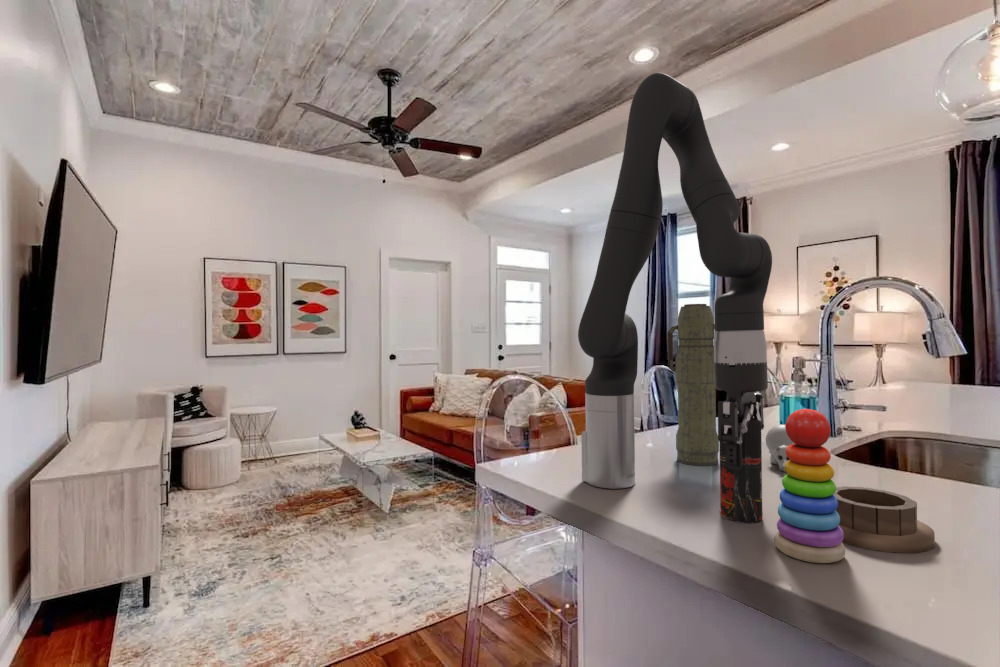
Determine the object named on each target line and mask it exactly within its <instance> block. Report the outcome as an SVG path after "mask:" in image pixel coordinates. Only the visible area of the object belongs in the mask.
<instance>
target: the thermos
mask: <svg viewBox="0 0 1000 667" xmlns="http://www.w3.org/2000/svg"><path fill="white" fill-rule="evenodd" d="M675 330H676V331H677V339H678V346H677V353H676V356H675V359H674V345H673V344H674V343H673V342H674V339H673V335H674V334H673V333H674V332H675ZM714 340H715V316H714V314H713V311H712V308H711V306H710V305H707V303H690V304H689V303H688V304H684V306H681V307H680V310H679V312H678V317H677V325H675V326H674V325H672V326H671V327H670V329H669V330H668V332H667V348H668V349H667V350H668V352H667V353H668V369H669V370H670V371H671V372H673V373H674V374H675V383H676V385H677V416H678V419H677V420H678V425H677V426H678V428H677V430H676V434H675V449H676V453H677V454H676V455H677V457H676V461H677V462H679V463H681V464H684V465H689V466H698V467H709V466H710V467H711V466H715V465H718V464H719V455H718V454H719V452H720V441H719V440H718V431H717V412H716V411H717V410H716V409H717V407H716V406H717V405H716V404H717V403H716V397H717V396H716V388H715V369H714ZM674 361H675V366H674Z"/></svg>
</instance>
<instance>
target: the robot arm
mask: <svg viewBox="0 0 1000 667" xmlns="http://www.w3.org/2000/svg"><path fill="white" fill-rule="evenodd" d="M628 113H629V115H628V121H627V129H626V134H625V143H624V149H623V156H622V160H621V165H620V171H619V174H618V179H617V185H616V189H615V193H614V197H613V201H612V204H611V208H610V212H609V216H608V220H607V224H606V229H605V233H604V234H605V235H604V238H603V244H602V247H601V252H600V254H599V260H598V263H597V268H596V273H595V276H594V280H593V284H592V287H591V289H590V290H591V291H590V293H589V295H588V298H587V302H586V304H585V307H584V310H583V313H582V315H581V319H580V322H579V325H578V329H577V330H578V331H577V338H578V342H579V345H580V348H581V350H582V351H583V353H584V354H586V355H587V356H589V357H591V358H592V359H593V360H592V362H593V363H592V368H591V371H590V372H589V374H588V376H587V377H586V378H585V381H584V392H585V393H584V395H585V399H584V400H585V401H584V402H585V407H584V408H585V430H583V431H581V440H580V442H581V481H582V482H586V483H587V484H588V485H591V486H593V487H597V488H603V489H613V490H615V489H617V490H618V489H628V488H630V487H633V486H634V485H635V484H636V467H635V466H636V459H635V458H636V457H635V456H636V455H635V454H636V450H635V446H636V444H635V440H636V439H635V436H636V435H635V393H634V392H635V382H636V380H637V378H638V377H637V375H638V364H639V363H638V360H639V357H638V356H639V353H638V352H639V336H638V335H639V334H638V330H637V325H636V323H635V321H634V319H633V318H632V317H631V316H630V315H629V314H628V313H626V311H627V306H628V301H629V297H630V293H631V291H632V288H633V285H634V283H635V281H636V280H637V277H638V276H639V275H640V272H641V271H642V269H643V268H644V266H645V264H646V262H647V260H648V259H649V256H651V253H652V251H653V248H654V247H655V246H654V245H655V243H656V240H657V237H658V232H659V229H660V224H661V220H662V217H663V216H662V215H663V194H662V188H661V186H662V185H661V179H660V172H659V155H660V148H661V144H662V141H663V140H664V141H665V142H666V143H667V145H668V146H669V147H670V149H671V150H672V151H673V153H674V155H675V157H676V159H677V162H678V166H679V174H680V175H679V176H680V177H679V179H680V181H679V182H680V189H681V193H682V195H683V198H684V201H685V203H686V205H687V208H688V209H689V212H690V214H691V217H692V218H693V221H694V223H695V226H696V238H697V244H698V249H699V250H698V251H699V256H700V258H701V261H702V263H703V264H704V266H705V268H706V269H707V270H708V271H709V272H710V273H712V275H714V276H717V277H721V278H730V283H729V288H728V292H727V293H723V294H721V295H718V297H717V298H716V299H715V301H714V324H715V329H714V339H713V346H714V369H715V390H718V391H721V392H724V391H725V393H726V400H719V401H718V402H717V435H718V440H719V442H720V441H722V442H723V443H725V457H726V467H727V468H728V469H732V470H740V469H742V467H743V465H742V445H741V444H742V439H743V434H744V433H745V432H747V431H748V426H749V425H748V424H749V421H750V420H753V419H757V420H760V421H761V431H762V430H764V428H765V421H764V402H763V398H764V396H763V393H761V392H765V391H766V390H767V389H768V387H769V383H768V381H769V380H768V377H769V376H768V358H767V357H768V355H767V354H768V352H767V351H768V350H767V349H768V347H767V341H766V334H765V319H764V317H765V314H764V303H765V302H764V301H765V298H766V295H767V292H768V286H769V282H770V278H771V273H772V268H773V267H772V266H773V254H772V250H771V247H770V245H769V242H768V241H767V240H766V239H765V238H764V237H762V236H761V235H759V234H757V233H756V234H755V233H748V232H739V231H737V230H736V228H735V226H734V223H735V222H736V221H737V220H738V219H739V217H740V215H741V207H740V204H739V201H738V200H737V198H736V195H735V193H734V192H733V188H732V186H731V185H730V184H729V182H728V179H727V178H726V175H725V174H724V172H723V170H722V167H721V165H720V164H719V161H718V159H717V157H716V155H715V151H714V149H713V147H712V144H711V141H710V138H709V135H708V132H707V129H706V126H705V122H704V121H705V120H704V116H703V113H702V110H701V106H700V102H699V99H698V98H697V95H696V94H695V93H694V91H693V90H692V89H690V88H689V87H688V86H686V84H683V83H681V82H680V81H678V80H677V79H675V78H674V77H672V76H670V75H668V74H666V73H662V72H654V73H652V74H650V75H648V76H647V77H646V78H644V79H643V80H642V81H641V83H640V84H639V86H637V89H636V90H635V93H634V95H633V98H632V101H631V104H630V110H629V112H628ZM759 392H760V393H759ZM738 423H741V424H738ZM731 431H732V434H730V432H731Z"/></svg>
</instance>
